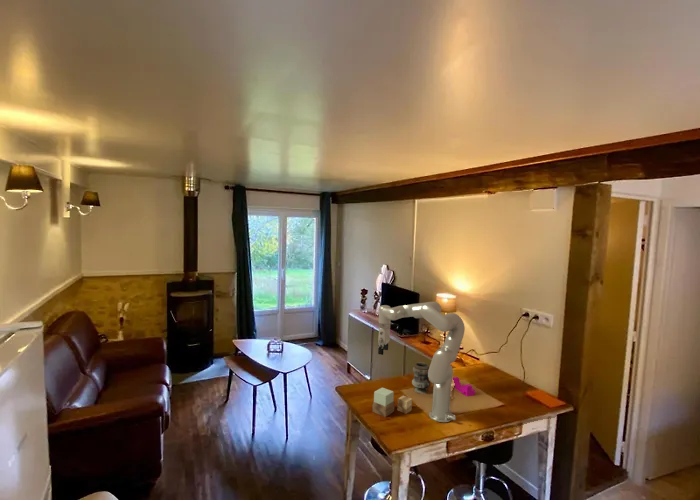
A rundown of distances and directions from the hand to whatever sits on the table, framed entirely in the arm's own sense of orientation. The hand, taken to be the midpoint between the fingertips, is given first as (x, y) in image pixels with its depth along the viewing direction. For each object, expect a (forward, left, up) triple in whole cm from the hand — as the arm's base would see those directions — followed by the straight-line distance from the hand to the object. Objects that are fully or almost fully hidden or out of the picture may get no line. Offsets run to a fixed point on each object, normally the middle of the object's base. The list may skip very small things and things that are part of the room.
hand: (383, 352), depth 235 cm
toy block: (-36, -42, -29) cm, 62 cm away
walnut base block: (-13, +17, -28) cm, 35 cm away
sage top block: (-13, +17, -22) cm, 31 cm away
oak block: (-21, +6, -28) cm, 36 cm away
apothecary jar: (-15, -23, -28) cm, 40 cm away
